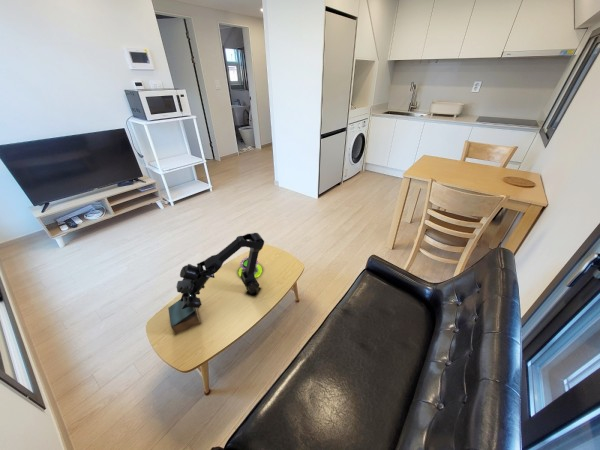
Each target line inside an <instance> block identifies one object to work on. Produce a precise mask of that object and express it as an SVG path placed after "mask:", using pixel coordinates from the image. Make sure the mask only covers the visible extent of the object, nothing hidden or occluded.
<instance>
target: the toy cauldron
mask: <svg viewBox="0 0 600 450" xmlns="http://www.w3.org/2000/svg"><path fill="white" fill-rule="evenodd" d="M248 257H249V255H247V256H246V257H244V258H243V259H242V260H241V261H239V266H240V268H239V270H238V276H239V277H240V276H241V272H244V271H245V270H246V267H247V262H248ZM262 272H263V268H262V266H261V265H260V264H259V260H257V262H256V266H255V271H254V276H255V278H256V279H257V278H259V277H260V276H261V274H262Z"/></svg>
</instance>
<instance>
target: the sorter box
mask: <svg viewBox="0 0 600 450" xmlns="http://www.w3.org/2000/svg"><path fill="white" fill-rule="evenodd" d="M194 309H195V311H194V312H192V313H191V314H189V315H188V316H187V317H185V318H184V319H183V320H181V321H180V322H178V323H177V324H176V325H174V326H173V327H171V329H172V331H173V333H174V335H179V334H182V333H183V332H185V331H188V330H190V329H192V328H194V327H197V326H199V325H201V319H200V315H199V312H198V308H194Z"/></svg>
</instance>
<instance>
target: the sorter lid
mask: <svg viewBox="0 0 600 450" xmlns="http://www.w3.org/2000/svg"><path fill="white" fill-rule="evenodd" d="M188 297H191V296H190V295H189V296H188ZM188 297H187V298H188ZM185 298H186V296H183V301H180V300H181V298H180V299H179V300H177V301H176V302H174V303H173V304H171V305H170V306H169V307H168V308H167V309H168V316H169V323H170V328H172V327H173V326H174V325H176V324H177V323H178V322H180V321H181V320H183V319H184V318H185V317H187V316H188V315H189V314H191V313H192V312H194V311H195V309H194V307H187V308H185V309H182V307H183V305H184V303H185V302H186V300H185Z"/></svg>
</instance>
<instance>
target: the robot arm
mask: <svg viewBox="0 0 600 450" xmlns="http://www.w3.org/2000/svg"><path fill="white" fill-rule="evenodd" d="M264 245H265V240H264V239H263V237H262V236H261V234H260V233H259V232H252V233H245V234H244V235H237V237H236V238H235V239H234V240H233V241H232V242H230V243H229V244H228V245H227V246H226V247H224V248H223V249H222V250H220V251H219V252H218V253H217V254H214V255H210V256H209V257H207V258H206V259H204V260H203V261H200V262H198V263H196V265H192V264H190V263H187V264H186V265H184V266H182V268H181V270H180V273H179V277H180V278H181V279H182V280H178V281H177V283H176V287H175V288H176V292H177V293H180V294H182V295H181V297H180V299H181V300H180V299H179V300H180V301H183V296H186V298H185V300H186V302H185V303H184V305H183V307H182V309H185V308H187V307H194V308H196V309H199V308H201V307H202V301H201V298H200V297H197V295H199V296H200V295H201V290H202V289H205V288H206V286H205V285H206V283H207V282H208V281H209V279H210V278H212V279H215V274H216V273H217V272H218V271H220V269H221V268H222V266H223V264H224V263H225V262H226V261H228V259H229V258H230V257H232V256H233V255H234V254H236V252H238V251H239V250H240V249H242V248H249V253H248V256H249V257H248V262H247V267H246V270H245V271H244V272H241V276H239V278H240V279H241V281H242V284H243V286H244V287H245V288H246V292H245V294H246V295H249V296H252V297H254V298H255V297H257V295H258V294H259V293H260V291H261V287H260V284H259V281H258V279H257V278H255V276H254V271H255V266H256V262H257V261H258V257H259V253H260V251H262V249H263V247H264ZM189 295H190V296H191V297H188V296H189ZM187 297H188V298H187Z"/></svg>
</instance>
